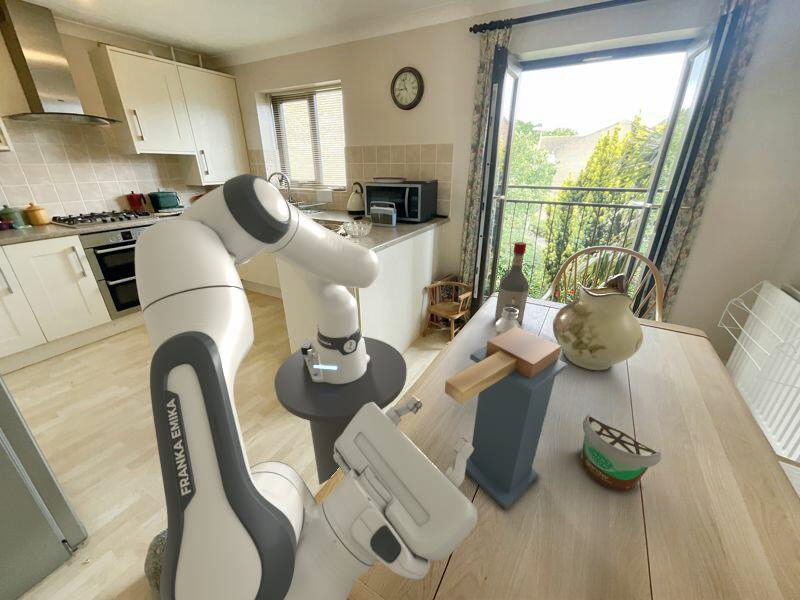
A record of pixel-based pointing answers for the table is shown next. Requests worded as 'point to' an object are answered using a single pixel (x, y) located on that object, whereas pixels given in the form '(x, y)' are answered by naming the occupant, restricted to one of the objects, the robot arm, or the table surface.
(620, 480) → the food container
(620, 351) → the pitcher
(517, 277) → the liquor
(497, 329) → the plastic bottle
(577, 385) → the table surface
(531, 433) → the pedestal stand
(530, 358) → the mallet
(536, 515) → the table surface
